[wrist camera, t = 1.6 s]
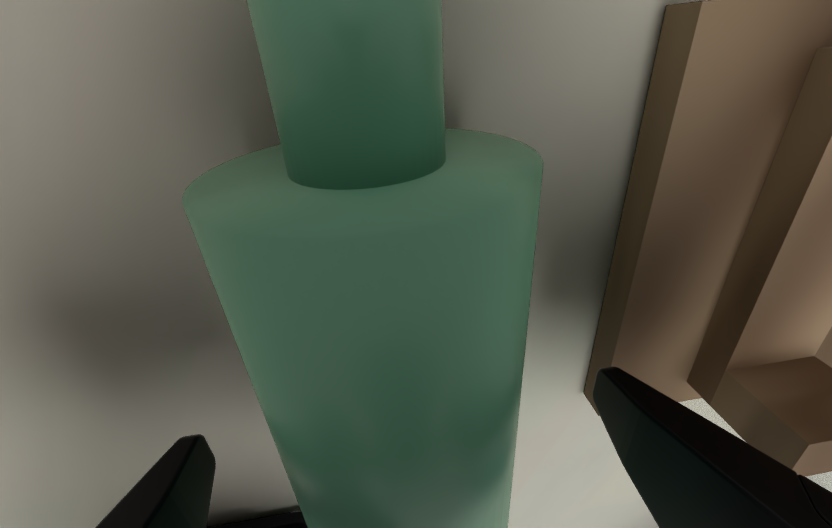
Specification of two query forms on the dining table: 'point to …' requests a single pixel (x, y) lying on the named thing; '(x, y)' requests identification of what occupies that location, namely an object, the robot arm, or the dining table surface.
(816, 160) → the bottle rest
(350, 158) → the small bottle
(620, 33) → the dining table surface
